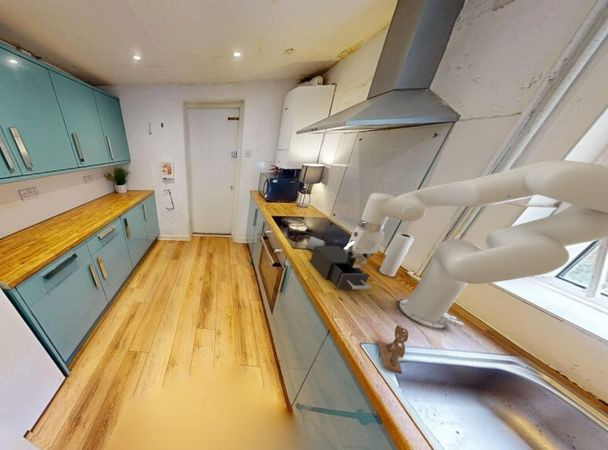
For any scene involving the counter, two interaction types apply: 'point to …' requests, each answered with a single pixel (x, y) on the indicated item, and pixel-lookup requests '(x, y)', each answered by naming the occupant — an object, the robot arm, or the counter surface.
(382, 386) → the counter surface
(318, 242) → the ceramic mug
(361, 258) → the block
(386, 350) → the brown irregular upright piece
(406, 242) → the paper towel roll
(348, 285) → the black pull-out drawer
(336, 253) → the black drawer cabinet housing
